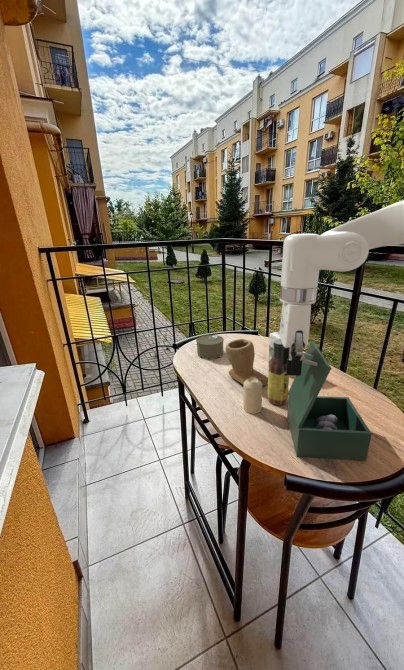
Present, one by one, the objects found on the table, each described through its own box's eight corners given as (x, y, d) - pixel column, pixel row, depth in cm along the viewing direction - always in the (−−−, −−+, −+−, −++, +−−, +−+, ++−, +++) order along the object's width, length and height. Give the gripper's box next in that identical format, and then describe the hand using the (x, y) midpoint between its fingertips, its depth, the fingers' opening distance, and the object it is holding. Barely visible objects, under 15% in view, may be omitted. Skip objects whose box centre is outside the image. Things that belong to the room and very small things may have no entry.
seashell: (322, 425, 78) (325, 451, 69) (310, 410, 77) (312, 435, 68) (340, 418, 75) (345, 444, 66) (328, 403, 75) (332, 427, 66)
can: (191, 355, 124) (190, 341, 121) (206, 346, 133) (206, 333, 131) (214, 361, 117) (213, 346, 115) (228, 351, 126) (228, 337, 124)
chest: (344, 421, 78) (348, 397, 76) (366, 461, 65) (371, 433, 62) (287, 418, 80) (288, 395, 78) (296, 456, 67) (299, 429, 64)
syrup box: (289, 369, 108) (291, 334, 103) (277, 373, 106) (279, 337, 101) (279, 364, 113) (281, 330, 108) (267, 367, 110) (269, 333, 105)
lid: (314, 341, 71) (294, 335, 72) (331, 368, 58) (306, 360, 58) (290, 394, 78) (271, 388, 78) (300, 428, 64) (278, 421, 64)
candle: (259, 415, 82) (261, 385, 79) (241, 411, 84) (241, 382, 81) (262, 404, 87) (264, 376, 84) (245, 401, 89) (245, 373, 86)
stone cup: (220, 375, 106) (219, 338, 100) (246, 368, 111) (246, 332, 105) (243, 394, 93) (243, 353, 88) (271, 385, 98) (273, 345, 93)
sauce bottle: (286, 407, 85) (291, 347, 78) (265, 404, 87) (268, 345, 80) (287, 396, 91) (292, 339, 84) (268, 393, 93) (271, 337, 86)
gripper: (275, 287, 69) (271, 354, 75) (286, 303, 53) (279, 387, 60) (307, 286, 68) (300, 354, 74) (327, 303, 52) (316, 388, 59)
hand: (291, 368), depth 67 cm, fingers closed on lid, 5 cm apart
